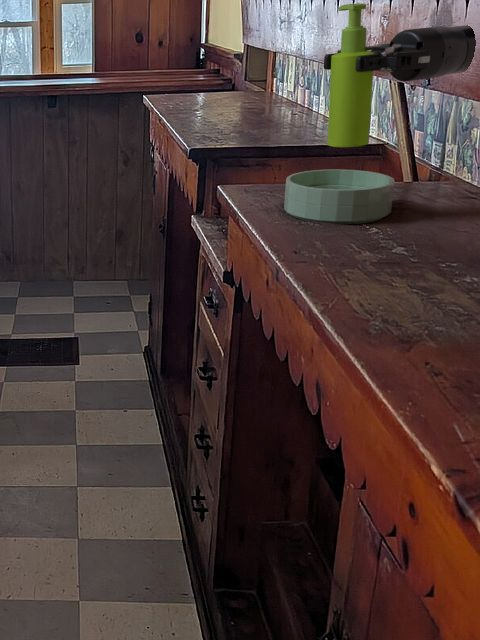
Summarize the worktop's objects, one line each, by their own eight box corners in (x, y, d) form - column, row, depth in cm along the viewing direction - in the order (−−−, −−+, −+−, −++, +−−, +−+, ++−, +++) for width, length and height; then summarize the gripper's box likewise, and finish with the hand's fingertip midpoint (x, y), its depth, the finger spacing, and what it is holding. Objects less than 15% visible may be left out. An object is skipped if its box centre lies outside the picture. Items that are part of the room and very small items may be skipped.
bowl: (402, 207, 142) (406, 173, 140) (373, 230, 130) (377, 193, 128) (303, 198, 151) (306, 166, 149) (268, 219, 139) (271, 185, 137)
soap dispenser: (354, 138, 136) (362, 2, 129) (375, 144, 130) (385, 1, 122) (318, 142, 136) (324, 6, 129) (337, 148, 130) (344, 5, 122)
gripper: (393, 26, 138) (309, 35, 132) (470, 27, 125) (381, 37, 120) (387, 76, 140) (305, 86, 135) (462, 81, 128) (375, 93, 123)
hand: (341, 63), depth 127 cm, fingers closed on soap dispenser, 6 cm apart
